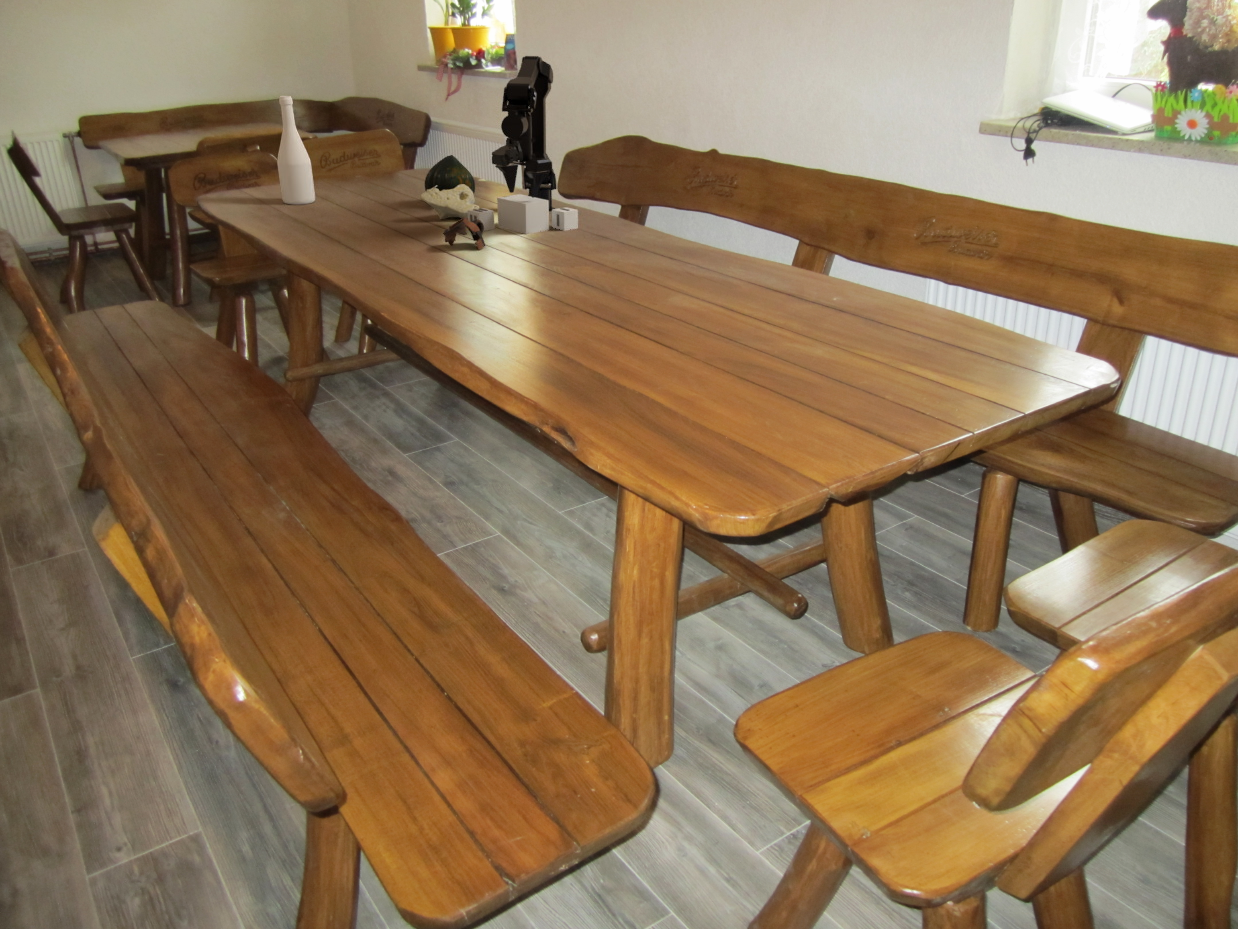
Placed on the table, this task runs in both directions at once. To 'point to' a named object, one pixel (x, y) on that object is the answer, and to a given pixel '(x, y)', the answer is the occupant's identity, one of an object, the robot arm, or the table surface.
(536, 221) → the plain grey block
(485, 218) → the white marked cube
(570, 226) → the striped block one
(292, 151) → the wine bottle
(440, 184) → the squash
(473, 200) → the cheese
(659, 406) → the table surface
